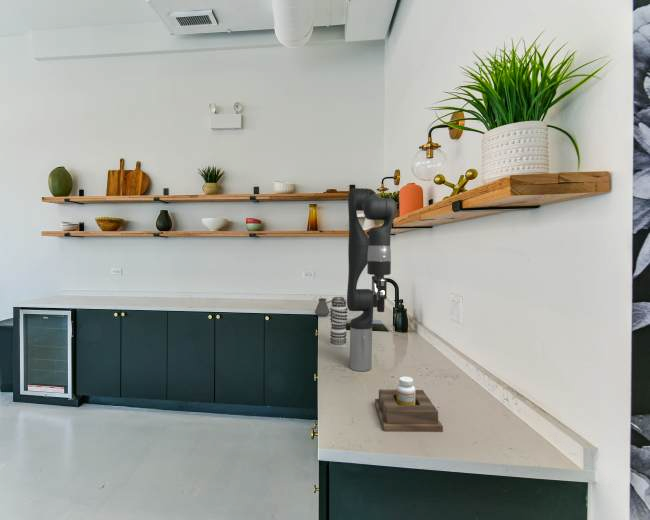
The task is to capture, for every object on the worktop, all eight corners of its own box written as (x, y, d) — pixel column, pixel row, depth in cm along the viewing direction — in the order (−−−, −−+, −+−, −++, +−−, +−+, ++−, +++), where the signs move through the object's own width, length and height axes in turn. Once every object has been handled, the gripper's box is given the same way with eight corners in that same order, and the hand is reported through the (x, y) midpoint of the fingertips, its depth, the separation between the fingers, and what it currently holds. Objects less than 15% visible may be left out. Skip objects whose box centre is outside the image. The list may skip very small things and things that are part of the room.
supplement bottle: (401, 405, 99) (401, 374, 99) (418, 410, 96) (418, 378, 95) (393, 411, 95) (393, 379, 95) (410, 417, 91) (411, 384, 91)
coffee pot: (313, 316, 240) (313, 297, 240) (315, 313, 252) (316, 295, 251) (342, 317, 238) (342, 297, 238) (342, 314, 249) (343, 295, 249)
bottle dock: (374, 403, 103) (375, 388, 103) (424, 403, 103) (424, 388, 103) (384, 431, 87) (384, 413, 87) (442, 431, 87) (443, 413, 87)
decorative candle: (346, 347, 163) (347, 299, 162) (328, 346, 164) (328, 298, 164) (347, 342, 172) (348, 296, 171) (330, 342, 173) (331, 296, 173)
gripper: (364, 259, 111) (364, 305, 112) (370, 260, 97) (370, 313, 97) (386, 259, 111) (385, 305, 112) (395, 260, 97) (394, 313, 97)
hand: (378, 309), depth 104 cm, fingers open, 8 cm apart
